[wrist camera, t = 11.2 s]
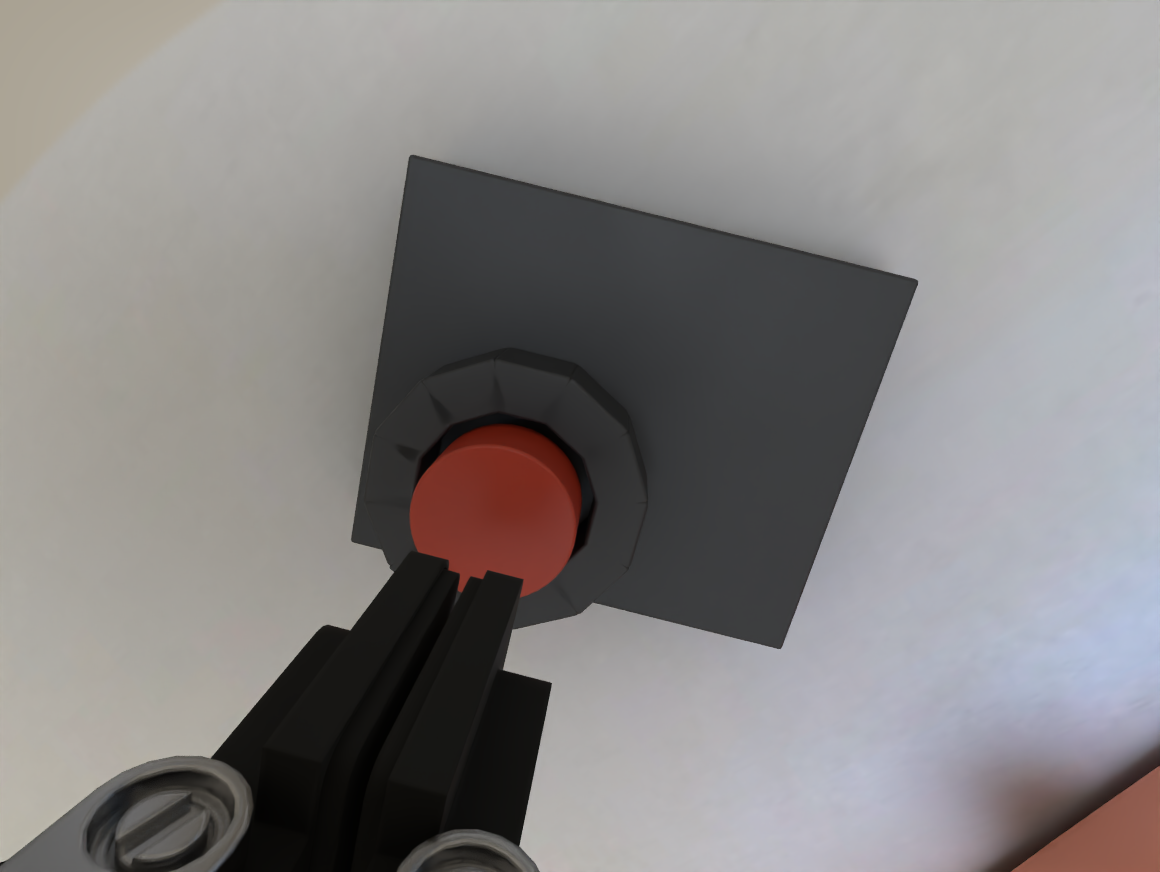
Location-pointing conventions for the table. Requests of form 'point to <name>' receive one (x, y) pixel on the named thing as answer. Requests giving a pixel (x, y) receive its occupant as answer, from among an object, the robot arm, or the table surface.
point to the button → (499, 506)
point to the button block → (630, 390)
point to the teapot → (1109, 836)
